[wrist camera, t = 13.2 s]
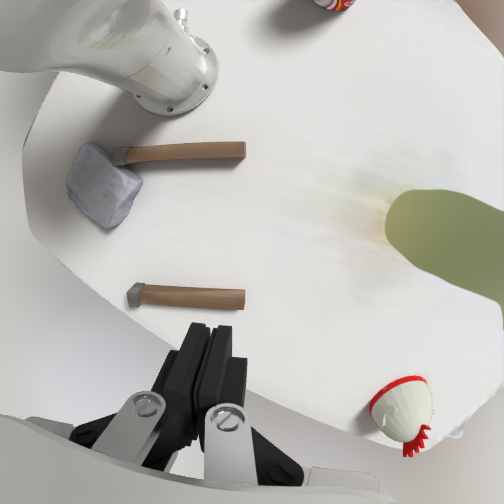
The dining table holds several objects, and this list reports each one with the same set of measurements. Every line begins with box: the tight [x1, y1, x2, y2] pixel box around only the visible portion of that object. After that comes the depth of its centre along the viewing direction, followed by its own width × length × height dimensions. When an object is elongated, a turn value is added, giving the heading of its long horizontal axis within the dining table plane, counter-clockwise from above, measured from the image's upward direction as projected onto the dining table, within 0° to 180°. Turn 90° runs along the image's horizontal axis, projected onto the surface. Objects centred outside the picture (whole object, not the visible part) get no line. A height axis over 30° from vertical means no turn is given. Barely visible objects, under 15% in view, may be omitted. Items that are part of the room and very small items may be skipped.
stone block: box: [66, 143, 143, 229], centre depth 37 cm, size 12×5×10 cm
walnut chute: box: [112, 142, 246, 310], centre depth 38 cm, size 23×18×4 cm
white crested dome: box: [370, 376, 434, 457], centre depth 42 cm, size 14×14×15 cm
